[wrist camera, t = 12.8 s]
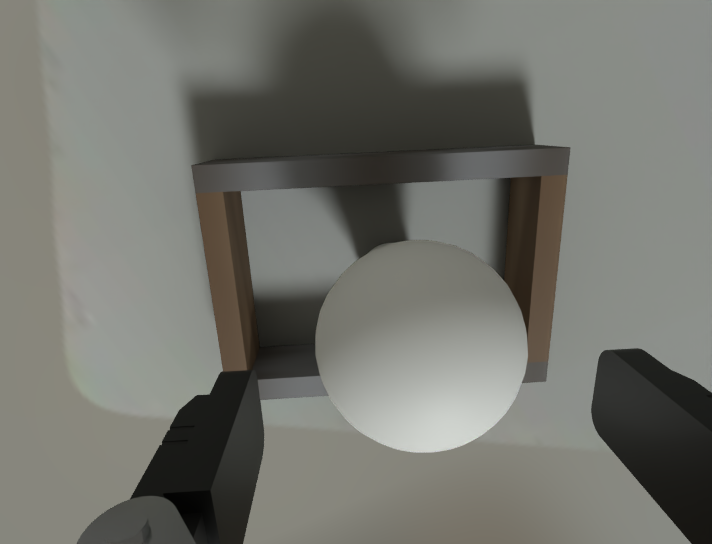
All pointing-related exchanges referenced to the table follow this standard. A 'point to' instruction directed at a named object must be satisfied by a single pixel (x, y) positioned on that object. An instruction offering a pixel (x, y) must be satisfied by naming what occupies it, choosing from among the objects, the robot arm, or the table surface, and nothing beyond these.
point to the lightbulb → (421, 346)
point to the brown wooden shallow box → (230, 176)
